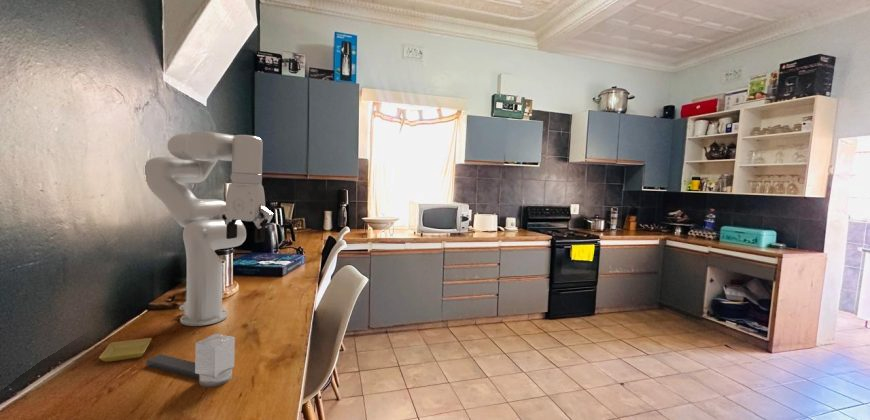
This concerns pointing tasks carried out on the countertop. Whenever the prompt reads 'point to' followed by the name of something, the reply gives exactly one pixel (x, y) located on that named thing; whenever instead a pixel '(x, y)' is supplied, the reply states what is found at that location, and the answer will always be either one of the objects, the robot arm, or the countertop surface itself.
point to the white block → (214, 355)
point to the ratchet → (187, 370)
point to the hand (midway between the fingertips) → (245, 240)
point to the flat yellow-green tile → (125, 350)
